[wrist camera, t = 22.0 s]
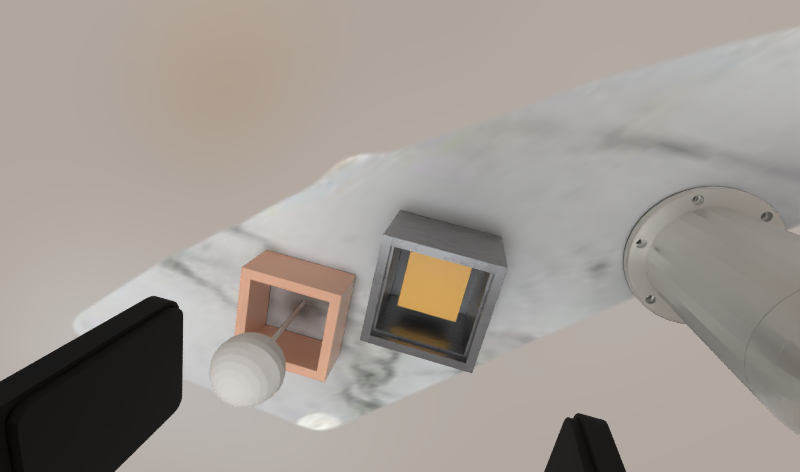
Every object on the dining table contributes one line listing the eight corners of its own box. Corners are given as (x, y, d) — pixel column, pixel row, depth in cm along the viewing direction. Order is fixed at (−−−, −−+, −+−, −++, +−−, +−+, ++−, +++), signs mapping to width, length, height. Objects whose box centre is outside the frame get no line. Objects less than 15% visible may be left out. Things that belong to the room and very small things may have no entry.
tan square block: (472, 253, 40) (472, 267, 37) (457, 303, 42) (455, 322, 39) (416, 238, 41) (410, 251, 37) (403, 288, 43) (397, 305, 39)
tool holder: (355, 275, 44) (341, 295, 39) (339, 354, 47) (324, 382, 42) (266, 249, 45) (241, 267, 40) (256, 329, 48) (232, 354, 43)
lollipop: (291, 332, 47) (214, 431, 33) (268, 286, 46) (178, 369, 32) (339, 318, 46) (280, 415, 32) (317, 270, 44) (245, 349, 30)
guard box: (501, 237, 40) (507, 268, 32) (472, 326, 43) (472, 373, 36) (400, 210, 41) (383, 234, 33) (379, 299, 44) (359, 339, 37)
